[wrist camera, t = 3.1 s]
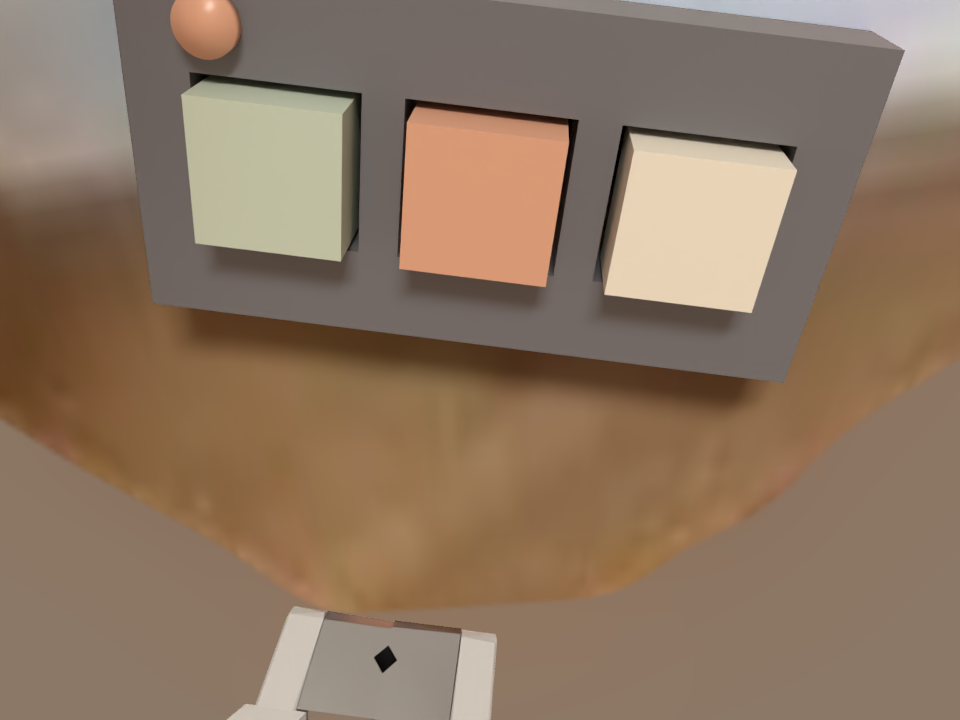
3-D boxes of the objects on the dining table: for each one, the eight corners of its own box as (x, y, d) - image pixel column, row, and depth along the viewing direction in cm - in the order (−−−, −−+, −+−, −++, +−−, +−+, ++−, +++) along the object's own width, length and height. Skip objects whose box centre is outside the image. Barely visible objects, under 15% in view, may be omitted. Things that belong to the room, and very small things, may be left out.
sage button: (225, 210, 30) (195, 243, 28) (215, 71, 28) (180, 94, 25) (358, 226, 30) (340, 261, 28) (361, 89, 28) (342, 114, 25)
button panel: (183, 268, 33) (146, 310, 30) (148, -57, 27) (97, -45, 24) (766, 342, 33) (787, 391, 30) (871, 31, 27) (912, 54, 24)
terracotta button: (412, 233, 30) (399, 268, 28) (420, 96, 28) (406, 122, 25) (546, 250, 30) (545, 287, 28) (567, 114, 28) (568, 142, 25)
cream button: (599, 256, 30) (604, 294, 28) (626, 122, 27) (633, 150, 25) (734, 273, 30) (751, 312, 28) (774, 140, 27) (797, 170, 25)
